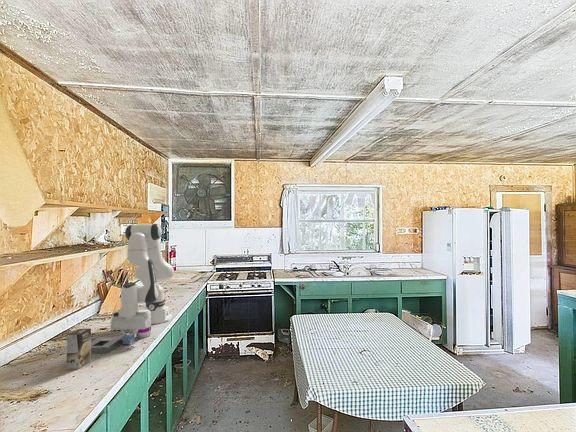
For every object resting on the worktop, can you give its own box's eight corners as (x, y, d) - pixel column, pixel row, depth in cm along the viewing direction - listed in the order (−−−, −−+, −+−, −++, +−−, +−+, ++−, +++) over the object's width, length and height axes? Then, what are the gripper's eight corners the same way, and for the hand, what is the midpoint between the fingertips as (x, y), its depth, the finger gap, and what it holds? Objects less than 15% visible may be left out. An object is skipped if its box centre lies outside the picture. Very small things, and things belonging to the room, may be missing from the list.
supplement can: (145, 338, 197) (145, 312, 197) (133, 337, 199) (132, 312, 199) (153, 333, 205) (153, 309, 205) (141, 333, 207) (141, 308, 207)
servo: (129, 339, 196) (130, 329, 196) (136, 339, 196) (137, 329, 196) (121, 344, 187) (121, 334, 187) (128, 345, 186) (128, 335, 187)
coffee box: (79, 369, 158) (79, 334, 158) (66, 369, 158) (65, 334, 158) (91, 360, 167) (91, 328, 167) (79, 360, 167) (78, 328, 167)
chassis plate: (99, 342, 192) (99, 336, 193) (123, 342, 192) (123, 336, 192) (81, 353, 176) (81, 347, 177) (107, 353, 176) (107, 347, 176)
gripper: (149, 310, 194) (150, 335, 193) (115, 311, 194) (115, 335, 194) (144, 313, 187) (145, 338, 187) (108, 313, 188) (109, 338, 188)
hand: (129, 336), depth 190 cm, fingers open, 4 cm apart
